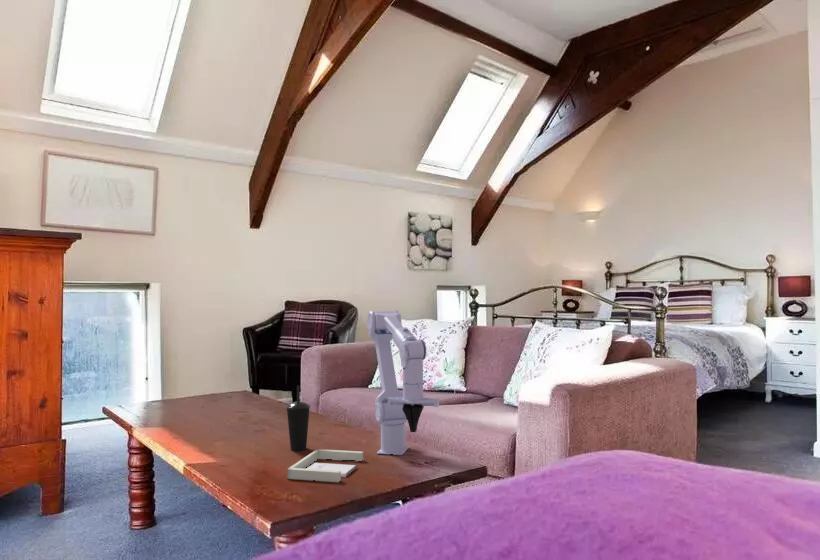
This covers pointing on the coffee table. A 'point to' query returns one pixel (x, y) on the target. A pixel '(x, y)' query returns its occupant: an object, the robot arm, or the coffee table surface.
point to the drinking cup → (298, 423)
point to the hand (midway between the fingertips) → (413, 431)
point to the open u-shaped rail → (321, 475)
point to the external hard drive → (334, 468)
